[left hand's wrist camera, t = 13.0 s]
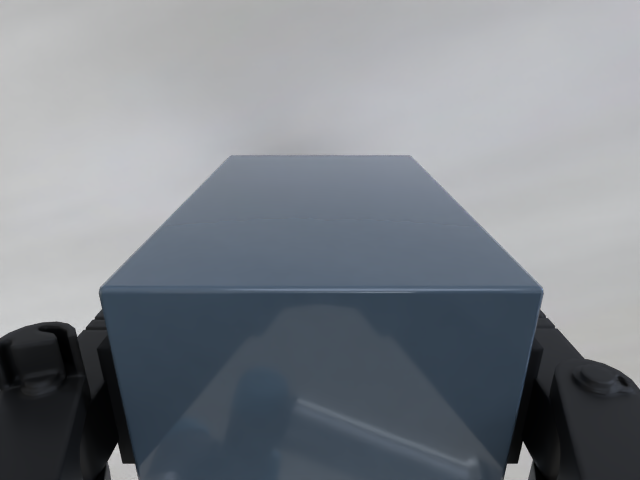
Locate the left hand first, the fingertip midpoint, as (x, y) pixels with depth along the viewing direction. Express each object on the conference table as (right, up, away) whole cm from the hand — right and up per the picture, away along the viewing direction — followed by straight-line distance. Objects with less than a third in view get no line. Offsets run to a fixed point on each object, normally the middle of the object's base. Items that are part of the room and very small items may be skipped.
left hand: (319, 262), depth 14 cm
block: (0, +1, +2) cm, 2 cm away
